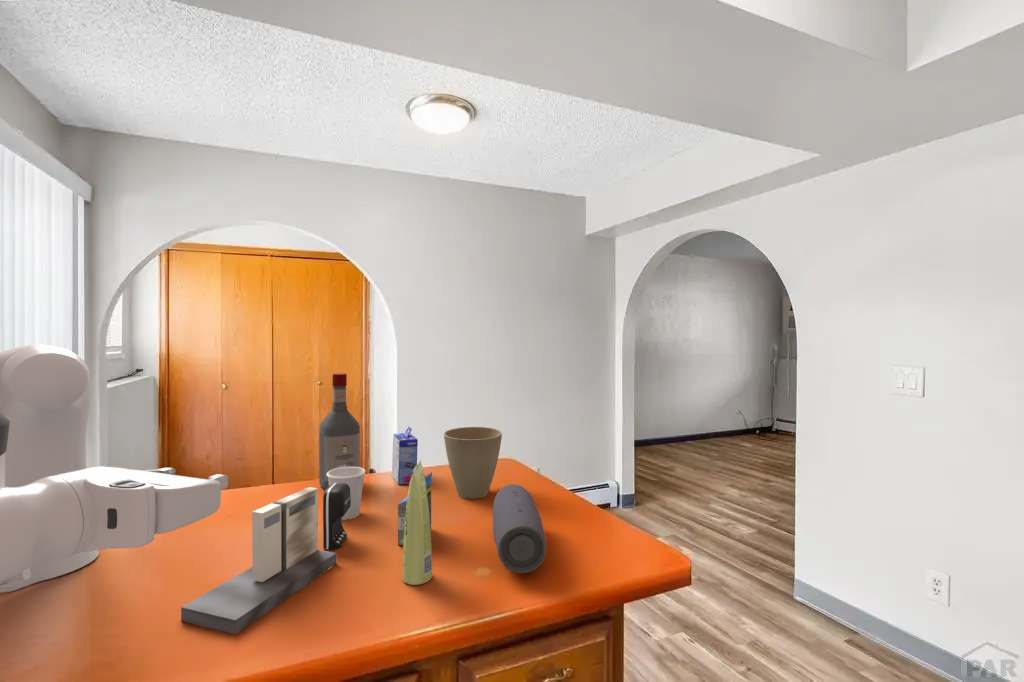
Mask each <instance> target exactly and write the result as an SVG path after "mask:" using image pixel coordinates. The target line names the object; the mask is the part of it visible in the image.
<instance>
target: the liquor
mask: <svg viewBox="0 0 1024 682" xmlns="http://www.w3.org/2000/svg"><path fill="white" fill-rule="evenodd" d="M347 376H348V374H347V373H332V378H331V379H332V380H331V381H332V384H331V385H332V406H331V411H330V412H329V413H328V414H326V416H325V417H324V418H323V419H322V421H321V422H320V424H319V426H318V434H319V435H318V438H319V440H318V444H319V445H318V446H319V447H318V452H319V453H318V456H319V457H318V459H319V460H318V461H319V464H318V465H319V469H318V471H319V472H318V473H319V474H318V476H319V477H318V479H319V480H318V481H319V485H320V487H321V488H322V489H323V490H324V491H325V490H326V489H327V488H328V487H329V482H328V476H327V472H328V471H330V470H332V469H336V468H340V467H360V466H361V459H360V458H361V455H360V454H361V450H360V449H361V448H360V447H361V439H360V438H361V436H360V434H361V426H360V424H359V421H358V420H357V419H356V418H355V417H354V416H353V414H351V412H349V410H348V406H347V386H348V382H347V381H348V379H347ZM360 468H361V467H360Z"/></svg>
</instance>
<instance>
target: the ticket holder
mask: <svg viewBox="0 0 1024 682" xmlns="http://www.w3.org/2000/svg"><path fill="white" fill-rule="evenodd" d="M272 504H279V505H281V571H280V572H278V573H277V574H275V575H273V576H272V577H270V578H269V579H267V580H265V581H264V582H259V581H254V580H253V566H252V567H250V568H247V569H246V570H244V571H242V572H241V573H239V574H236V576H234V577H232V578H230V579H229V580H226V581H225V582H223V583H221V584H219V585H218V586H216V587H214V588H212V589H211V590H209V591H208V592H205V593H204V594H202V595H200V596H198V597H197V598H194V599H193V600H191V601H189V602H188V603H186V604H184V605H183V606H181V607H180V617H181V618H180V621H181V622H183V623H189V624H193V625H195V626H200V627H204V628H209V629H212V630H216V631H221V632H225V633H229V634H233V635H237V634H239V632H241V631H243V630H244V629H246V628H247V627H249V626H250V625H251V624H253V623H254V622H255V621H257V620H258V619H259V618H261V617H262V616H264V615H265V614H267V613H268V612H269V611H271V610H272V609H274V608H275V607H277V606H278V605H280V604H282V603H283V602H284V601H285V600H287V599H289V598H290V597H291V596H292V595H294V594H295V593H297V592H298V591H300V590H301V589H303V588H304V587H306V586H307V585H308V584H310V583H311V582H313V581H314V580H315V579H317V578H318V577H320V576H321V575H323V574H324V573H325V572H324V571H326V570H327V569H328V568H330V567H331V566H333V565H334V564H336V565H337V552H333V551H328V550H322V549H319V488H318V487H317V488H316V487H309V486H308V487H306V488H303V489H302V490H299V491H296V492H294V493H291V494H290V495H287V496H285V497H283V498H280V499H278V500H275V501H272ZM334 566H335V565H334ZM334 566H333V567H334ZM331 568H332V567H331ZM331 568H330V569H331ZM328 570H329V569H328ZM328 570H327V571H328ZM327 571H326V572H327ZM323 572H324V573H323ZM322 573H323V574H322ZM320 574H321V575H320ZM319 575H320V576H319ZM316 577H317V578H316ZM313 579H314V580H313ZM312 580H313V581H312ZM309 582H310V583H309Z"/></svg>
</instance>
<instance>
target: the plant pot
mask: <svg viewBox="0 0 1024 682" xmlns="http://www.w3.org/2000/svg"><path fill="white" fill-rule="evenodd" d="M502 437H503V432H502V430H500V429H497V428H493V427H488V426H487V427H485V426H463V427H455V428H450V429H448V430H445V431H444V432H443V439H444V447H445V452H446V457H447V462H448V466H449V471H450V473H451V477H452V479H453V483H454V485H455V489H456V491H457V493H458V496H460V498H463V499H469V500H471V499H473V500H474V499H481V498H484V497H486V496H487V495H488V493H489V491H490V488H491V484H492V483H493V479H494V476H495V472H496V469H497V465H498V460H499V456H500V450H501V444H502V439H503V438H502Z"/></svg>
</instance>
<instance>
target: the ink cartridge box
mask: <svg viewBox="0 0 1024 682" xmlns="http://www.w3.org/2000/svg"><path fill="white" fill-rule="evenodd" d="M412 430H413V429H412V427H410V426H408V427H407V428H406V430H405V431H404V433H403V432H402V433H393V434H392V458H391V460H392V461H391V476H392V478H393V479H394V481H395V482H396V483H397V485H406V484H407V485H408V484H409V485H410V481H411V478H412V475H413V470H414V469H415V467H416V466H417V464H418V442H419V441H418V440H419V439H418V438H417V437H415V436H414V435H413V434H412V433H411V432H412Z"/></svg>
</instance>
